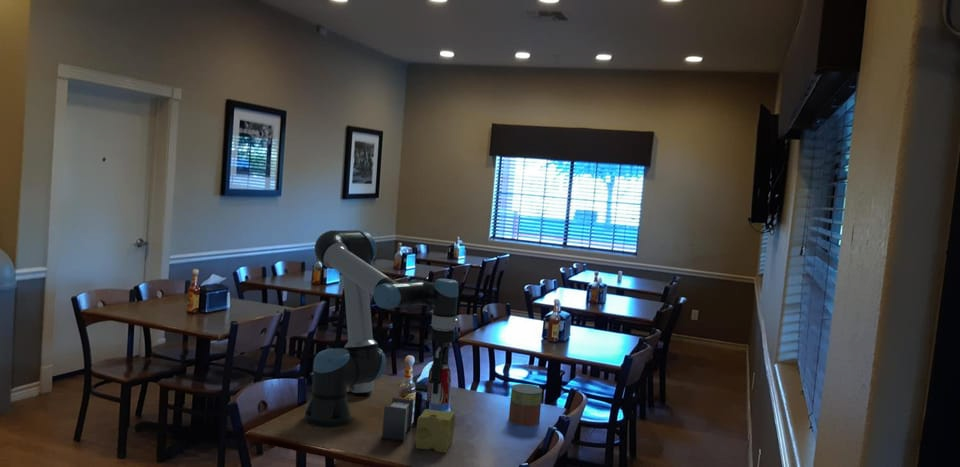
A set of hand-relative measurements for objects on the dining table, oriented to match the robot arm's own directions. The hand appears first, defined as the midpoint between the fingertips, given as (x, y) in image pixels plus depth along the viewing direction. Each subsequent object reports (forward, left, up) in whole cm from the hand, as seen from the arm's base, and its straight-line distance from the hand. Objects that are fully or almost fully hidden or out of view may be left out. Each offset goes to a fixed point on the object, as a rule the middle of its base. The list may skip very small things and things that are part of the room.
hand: (437, 399), depth 219 cm
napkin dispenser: (-13, +3, -15) cm, 20 cm away
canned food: (+26, +34, -15) cm, 45 cm away
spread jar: (-40, +40, -15) cm, 59 cm away
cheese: (0, 0, -15) cm, 15 cm away
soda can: (0, 0, -1) cm, 1 cm away
